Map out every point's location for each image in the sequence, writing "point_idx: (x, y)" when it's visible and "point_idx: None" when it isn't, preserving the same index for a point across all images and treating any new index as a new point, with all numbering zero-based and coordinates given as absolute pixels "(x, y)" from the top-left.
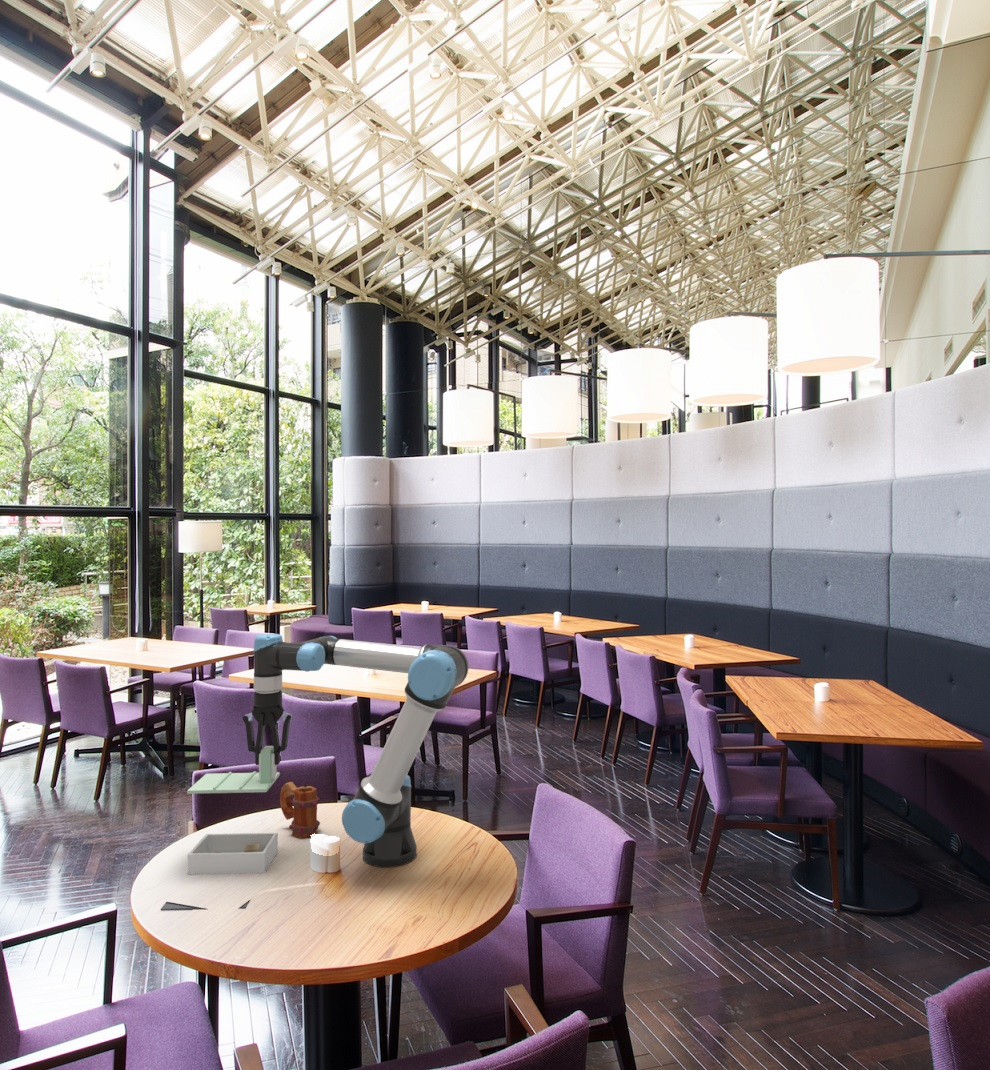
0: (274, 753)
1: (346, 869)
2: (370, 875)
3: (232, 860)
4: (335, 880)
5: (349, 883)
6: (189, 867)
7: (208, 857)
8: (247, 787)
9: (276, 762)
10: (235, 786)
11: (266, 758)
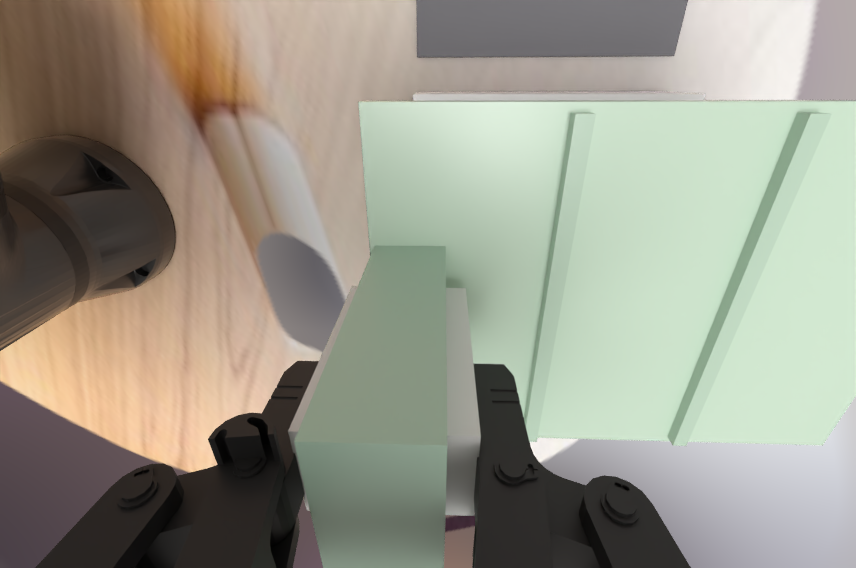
0: (266, 422)
1: (182, 129)
2: (89, 79)
3: (528, 93)
4: (181, 44)
5: (126, 16)
6: (673, 92)
7: (620, 93)
8: (526, 157)
9: (306, 375)
10: (627, 187)
11: (373, 364)
